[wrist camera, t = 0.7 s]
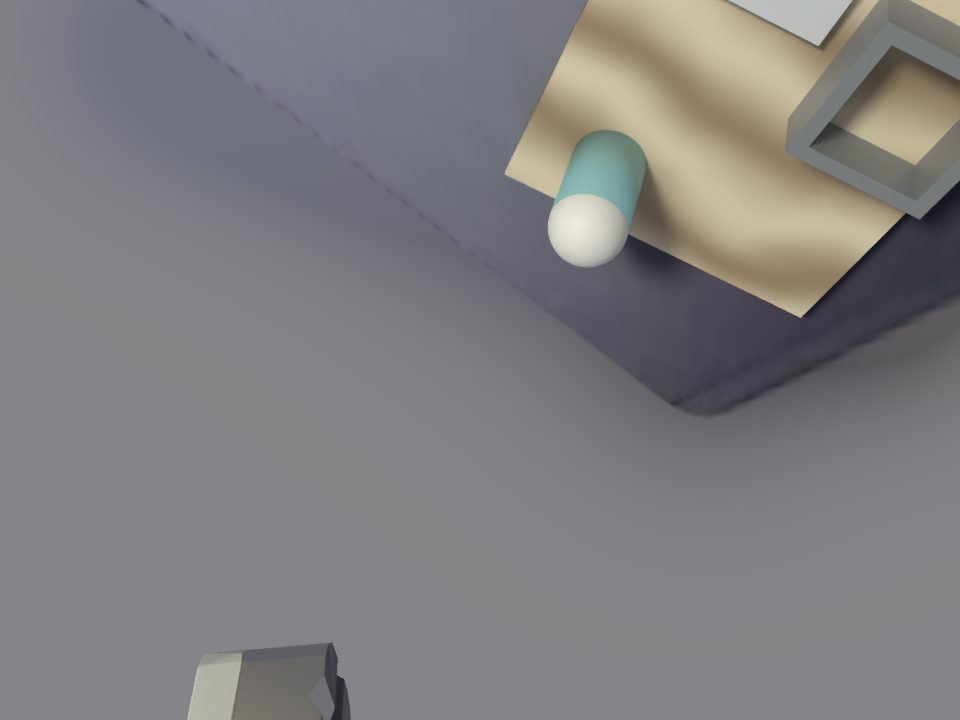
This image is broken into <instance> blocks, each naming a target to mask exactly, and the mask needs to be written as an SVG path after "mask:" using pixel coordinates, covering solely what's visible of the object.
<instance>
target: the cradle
mask: <svg viewBox="0 0 960 720" xmlns="http://www.w3.org/2000/svg"><path fill="white" fill-rule="evenodd" d="M892 45H893V46H895V47H897V48H898V49H900V50H902V51H904V52H906V53H908V54H910V55H912V56H914V57H916V58H918V59H920V60H922V61H924V62H926V63H928V64H930V65H931V66H933V67H935V68H937V69H939V70H941V71H943V72H945V73H947V74H949V75H951V76H953V77H955V78H957V79H959V80H960V26H958V25H956V24H955V23H953V22H951V21H949V20H947V19H945V18H943V17H941V16H939V15H937V14H935V13H933V12H932V11H930V10H928V9H926V8H924V7H922V6H920V5H918V4H916V3H914V2H912V1H910V0H879V1H878V2H877V3H876V5H875V6H874V7H873V9H872V10H871V11H870V13H869V14H868V15H867V16H866V18H865V19H864V20H863V22H862V23H861V24H860V26H859V27H858V28H857V29H856V31H855V32H854V33H853V35H852V36H851V37H850V39H849V40H848V41H847V42H846V44H845V45H844V46H843V48H842V49H841V50H840V52H839V53H838V54H837V55H836V57H835V58H834V59H833V61H832V62H831V63H830V65H829V66H828V67H827V68H826V70H825V71H824V72H823V74H822V75H821V76H820V77H819V79H818V80H817V81H816V83H815V84H814V85H813V87H812V88H811V89H810V90H809V92H808V93H807V94H806V96H805V97H804V98H803V100H802V101H801V102H800V103H799V105H798V106H797V107H796V109H795V110H794V111H793V113H792V114H791V115H790V116H789V118H788V125H787V134H786V142H785V151H784V152H786V153H788V154H790V155H792V156H794V157H796V158H798V159H800V160H802V161H804V162H806V163H808V164H810V165H812V166H814V167H816V168H818V169H820V170H822V171H824V172H826V173H828V174H830V175H832V176H834V177H836V178H838V179H840V180H842V181H844V182H846V183H848V184H850V185H852V186H854V187H856V188H858V189H860V190H862V191H864V192H866V193H868V194H870V195H872V196H874V197H876V198H878V199H880V200H882V201H884V202H886V203H888V204H890V205H892V206H894V207H896V208H898V209H900V210H902V211H904V212H906V213H908V214H910V215H912V216H914V217H916V218H918V219H920V218H922V217H923V216H924V215H925V214H926V213H927V212H928V211H929V210H930V209H931V208H932V207H933V206H934V205H935V204H936V203H937V202H938V201H939V200H940V199H941V198H942V197H943V196H944V195H945V194H946V193H947V192H948V191H949V190H950V189H951V188H952V187H953V186H954V185H955V184H956V183H958V182H959V181H960V119H959V120H958V121H957V122H956V123H955V124H954V125H953V126H952V127H951V128H950V129H949V131H948V132H947V133H946V134H945V135H944V136H943V137H942V138H941V139H940V140H939V141H938V142H937V143H936V144H935V145H934V146H933V147H932V148H931V149H930V150H929V151H928V152H927V153H926V155H925V156H924V157H923V158H922V159H921V160H920V161H919V162H918V163H917V164H916V165H913V164H911V163H910V162H908V161H906V160H904V159H902V158H900V157H898V156H896V155H894V154H892V153H890V152H888V151H886V150H884V149H882V148H880V147H878V146H876V145H874V144H872V143H870V142H868V141H866V140H864V139H862V138H860V137H858V136H856V135H854V134H852V133H850V132H848V131H846V130H844V129H842V128H840V127H838V126H836V125H834V124H832V123H830V120H831V119H832V118H833V117H834V115H835V114H836V113H837V112H838V111H839V109H840V108H841V107H842V106H843V104H844V103H845V102H846V101H847V100H848V98H849V97H850V96H851V95H852V93H853V92H854V91H855V90H856V89H857V87H858V86H859V85H860V84H861V82H862V81H863V80H864V79H865V78H866V76H867V75H868V74H869V73H870V71H871V70H872V69H873V68H874V67H875V65H876V64H877V63H878V62H879V60H880V59H881V58H882V57H883V56H884V54H885V53H886V52H887V51H888V49H889V48H890V47H891V46H892Z"/></svg>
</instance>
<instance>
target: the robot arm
mask: <svg viewBox="0 0 960 720" xmlns="http://www.w3.org/2000/svg"><path fill="white" fill-rule="evenodd" d="M337 663H338V657H337V655H336V652H335V649H334V646H333V643H320V644H310V645H298V646H287V647H276V648H264V649H254V650H249V649H246V650H237V651H227V652H218V653H208V654H204V657H203V659H202V661H201V663H200V665H199V667H198V669H197V674H196V679H195V683H194V688H193V693H192V698H191V703H190V708H189V713H188V718H187V720H351V717H350V704H349V698H348V691H347V688H346V684H345V681H344V679H342V678H341V677H339V676H338V675H337Z"/></svg>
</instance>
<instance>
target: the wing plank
mask: <svg viewBox="0 0 960 720" xmlns="http://www.w3.org/2000/svg"><path fill="white" fill-rule="evenodd" d="M729 1H731V2H733V3H735V4H737V5H739V6H741V7H743V8H745V9H747V10H749V11H751V12H753V13H754V14H756V15H758V16H760V17H762V18H764V19H766V20H768V21H770V22H772V23H774V24H776V25H778V26H780V27H782V28H784V29H786V30H788V31H790V32H792V33H794V34H795V35H797V36H799V37H801V38H803V39H805V40H807V41H809V42H811V43H813V44H815V45H817V46H819V45H820V43H821V42H822V41H823V39H824V38H825V37H826V35H827V34H828V33H829V31H830V30H831V29H832V27H833V26H834V25H835V23H836V22H837V20H838V19H839V18H840V16H841V15H842V14H843V12H844V11H845V10H846V8H847V7H848V6H849V4H850V3H851V2H852V0H729Z"/></svg>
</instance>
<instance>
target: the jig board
mask: <svg viewBox="0 0 960 720" xmlns="http://www.w3.org/2000/svg"><path fill="white" fill-rule="evenodd" d="M878 1H879V0H852V2H851V3H850V4H849V6H848V7H847V8H846V10H845V11H844V12H843V14H842V15H841V16H840V18H839V19H838V20H837V22H836V23H835V25H834V26H833V27H832V29H831V30H830V31H829V33H828V34H827V35H826V37H825V38H824V39H823V41H822V42H821V43H820V45H819V46H817V45H815V44H813V43H811V42H809V41H807V40H805V39H803V38H801V37H799V36H797V35H795V34H794V33H792V32H790V31H788V30H786V29H784V28H782V27H780V26H778V25H776V24H774V23H772V22H770V21H768V20H766V19H764V18H762V17H760V16H758V15H756V14H754V13H753V12H751V11H749V10H747V9H745V8H743V7H741V6H739V5H737V4H735V3H733V2H731V1H729V0H588V2H587V4H586V6H585V8H584V10H583V12H582V14H581V16H580V18H579V20H578V22H577V24H576V26H575V28H574V30H573V32H572V34H571V36H570V39H569V41H568V43H567V45H566V47H565V49H564V51H563V53H562V55H561V57H560V59H559V61H558V63H557V65H556V67H555V69H554V71H553V73H552V76H551V78H550V80H549V82H548V84H547V86H546V88H545V90H544V92H543V94H542V96H541V98H540V100H539V102H538V104H537V106H536V108H535V110H534V113H533V115H532V117H531V119H530V121H529V123H528V125H527V127H526V129H525V131H524V133H523V135H522V137H521V139H520V141H519V143H518V145H517V147H516V150H515V152H514V154H513V156H512V158H511V160H510V162H509V164H508V167H507V169H506V171H505V173H504V174H505V175H507V176H509V177H511V178H513V179H515V180H518V181H520V182H522V183H524V184H526V185H528V186H530V187H532V188H534V189H536V190H538V191H540V192H542V193H544V194H546V195H549V196H551V197H553V198H555V199H556V197H557V194H558V191H559V188H560V186H561V183H562V180H563V178H564V175H565V172H566V170H567V167H568V164H569V162H570V159H571V156H572V153H573V151H574V148H575V146H576V145H577V143H578V142H579V141H580V140H581V139H582V138H583V137H584V136H586V135H587V134H590V133H592V132H595V131H600V130H613V131H617V132H621V133H623V134H626V135H627V136H629V137H631V138H632V139H633V140H635V141H636V142H637V143H638V144H639V146H640V147H641V148H642V150H643V152H644V154H645V157H646V163H647V165H646V172H645V175H644V179H643V183H642V186H641V190H640V194H639V197H638V201H637V204H636V208H635V212H634V215H633V219H632V222H631V226H630V230H629V233H628V234H629V235H631V236H633V237H635V238H637V239H639V240H641V241H643V242H646V243H648V244H650V245H652V246H654V247H656V248H658V249H660V250H662V251H664V252H666V253H668V254H670V255H672V256H674V257H677V258H679V259H681V260H683V261H685V262H687V263H689V264H691V265H693V266H695V267H697V268H699V269H701V270H703V271H705V272H708V273H710V274H712V275H714V276H716V277H718V278H720V279H722V280H724V281H726V282H728V283H730V284H732V285H734V286H736V287H738V288H741V289H743V290H745V291H747V292H749V293H751V294H753V295H755V296H757V297H759V298H761V299H763V300H765V301H767V302H769V303H772V304H774V305H776V306H778V307H780V308H782V309H784V310H786V311H788V312H790V313H792V314H794V315H796V316H798V317H800V318H801V317H802V316H803V315H804V314H805V313H806V312H807V311H808V310H809V309H810V308H811V307H812V306H813V305H814V304H815V303H816V302H817V301H818V300H819V299H820V298H821V297H822V296H823V295H824V294H825V293H826V292H827V291H828V290H829V289H830V288H831V287H832V286H833V285H834V284H835V283H836V282H837V281H838V280H839V279H840V278H841V277H842V276H843V275H844V274H845V273H846V272H847V271H848V270H849V269H850V268H851V267H852V266H853V265H854V264H855V263H856V262H857V261H858V260H859V259H860V258H861V257H862V256H863V255H864V254H865V253H866V252H867V251H868V250H869V249H870V248H871V247H872V246H873V245H874V244H875V243H876V242H877V241H878V240H879V239H880V238H881V237H882V236H883V235H884V234H885V233H886V232H887V231H888V230H889V229H890V228H891V227H892V226H893V225H894V224H895V223H896V222H897V221H898V220H899V219H900V218H901V217H902V216H903V215H904V214H905V213H906V212H904V211H902V210H900V209H898V208H896V207H894V206H892V205H890V204H888V203H886V202H884V201H882V200H880V199H878V198H876V197H874V196H872V195H870V194H868V193H866V192H864V191H862V190H860V189H858V188H856V187H854V186H852V185H850V184H848V183H846V182H844V181H842V180H840V179H838V178H836V177H834V176H832V175H830V174H828V173H826V172H824V171H822V170H820V169H818V168H816V167H814V166H812V165H810V164H808V163H806V162H804V161H802V160H800V159H798V158H796V157H794V156H792V155H790V154H788V153H786V152H784V151H785V142H786V134H787V125H788V118H789V116H790V115H791V114H792V113H793V111H794V110H795V109H796V107H797V106H798V105H799V103H800V102H801V101H802V100H803V98H804V97H805V96H806V94H807V93H808V92H809V90H810V89H811V88H812V87H813V85H814V84H815V83H816V81H817V80H818V79H819V77H820V76H821V75H822V74H823V72H824V71H825V70H826V68H827V67H828V66H829V65H830V63H831V62H832V61H833V59H834V58H835V57H836V55H837V54H838V53H839V52H840V50H841V49H842V48H843V46H844V45H845V44H846V42H847V41H848V40H849V39H850V37H851V36H852V35H853V33H854V32H855V31H856V29H857V28H858V27H859V26H860V24H861V23H862V22H863V20H864V19H865V18H866V16H867V15H868V14H869V13H870V11H871V10H872V9H873V7H874V6H875V5H876V3H877V2H878ZM910 1H912V2H914V3H916V4H918V5H920V6H922V7H924V8H926V9H928V10H930V11H932V12H933V13H935V14H937V15H939V16H941V17H943V18H945V19H947V20H949V21H951V22H953V23H955V24H956V25H958V26H960V0H910ZM959 119H960V80H959V79H957V78H955V77H953V76H951V75H949V74H947V73H945V72H943V71H941V70H939V69H937V68H935V67H933V66H931V65H930V64H928V63H926V62H924V61H922V60H920V59H918V58H916V57H914V56H912V55H910V54H908V53H906V52H904V51H902V50H900V49H898V48H897V47H895V46H893V45H892V46H891V47H890V48H889V49H888V51H887V52H886V53H885V54H884V56H883V57H882V58H881V59H880V60H879V62H878V63H877V64H876V65H875V67H874V68H873V69H872V70H871V71H870V73H869V74H868V75H867V76H866V78H865V79H864V80H863V81H862V82H861V84H860V85H859V86H858V87H857V89H856V90H855V91H854V92H853V93H852V95H851V96H850V97H849V98H848V100H847V101H846V102H845V103H844V104H843V106H842V107H841V108H840V109H839V111H838V112H837V113H836V114H835V115H834V117H833V118H832V119H831V120H830V123H832V124H834V125H836V126H838V127H840V128H842V129H844V130H846V131H848V132H850V133H852V134H854V135H856V136H858V137H860V138H862V139H864V140H866V141H868V142H870V143H872V144H874V145H876V146H878V147H880V148H882V149H884V150H886V151H888V152H890V153H892V154H894V155H896V156H898V157H900V158H902V159H904V160H906V161H908V162H910V163H911V164H913V165H916V164H917V163H918V162H919V161H920V160H921V159H922V158H923V157H924V156H925V155H926V153H927V152H928V151H929V150H930V149H931V148H932V147H933V146H934V145H935V144H936V143H937V142H938V141H939V140H940V139H941V138H942V137H943V136H944V135H945V134H946V133H947V132H948V131H949V129H950V128H951V127H952V126H953V125H954V124H955V123H956V122H957V121H958V120H959Z"/></svg>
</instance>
